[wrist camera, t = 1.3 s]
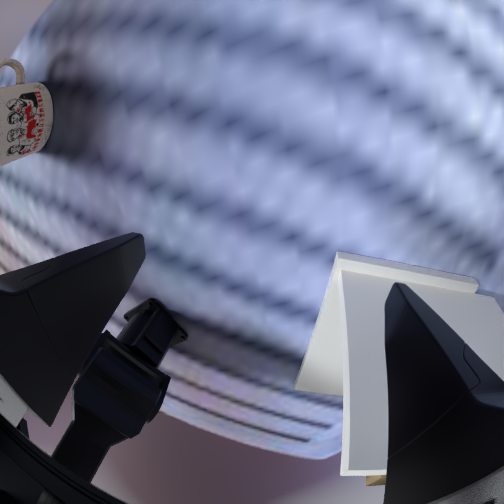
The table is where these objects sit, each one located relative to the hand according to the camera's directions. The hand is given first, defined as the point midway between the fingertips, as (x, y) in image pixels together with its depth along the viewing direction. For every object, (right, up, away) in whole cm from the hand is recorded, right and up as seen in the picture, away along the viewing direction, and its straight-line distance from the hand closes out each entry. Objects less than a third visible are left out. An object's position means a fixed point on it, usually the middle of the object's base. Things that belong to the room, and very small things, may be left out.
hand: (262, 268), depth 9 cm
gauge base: (+15, -9, +17) cm, 24 cm away
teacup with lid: (-25, +17, +12) cm, 32 cm away
